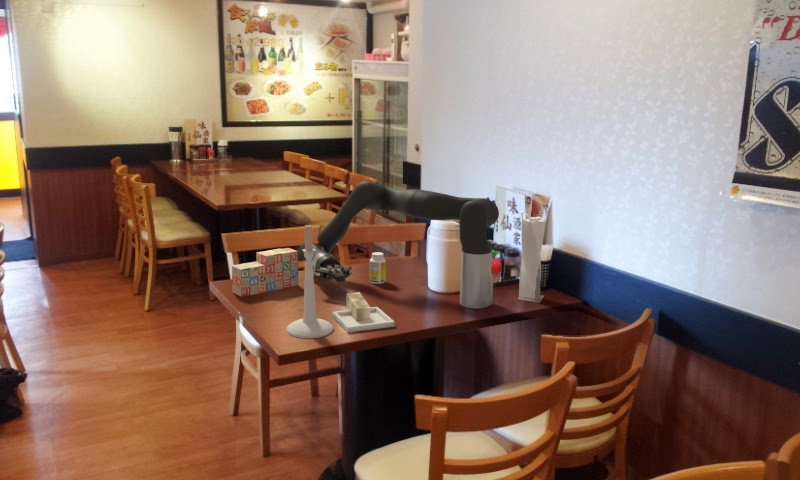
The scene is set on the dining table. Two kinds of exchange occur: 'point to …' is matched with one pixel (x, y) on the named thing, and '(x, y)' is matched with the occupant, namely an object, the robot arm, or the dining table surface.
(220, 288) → the dining table surface
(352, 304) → the block
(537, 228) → the skyscraper
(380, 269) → the supplement bottle
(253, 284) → the stack of blocks
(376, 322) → the tray
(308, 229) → the candlestick
